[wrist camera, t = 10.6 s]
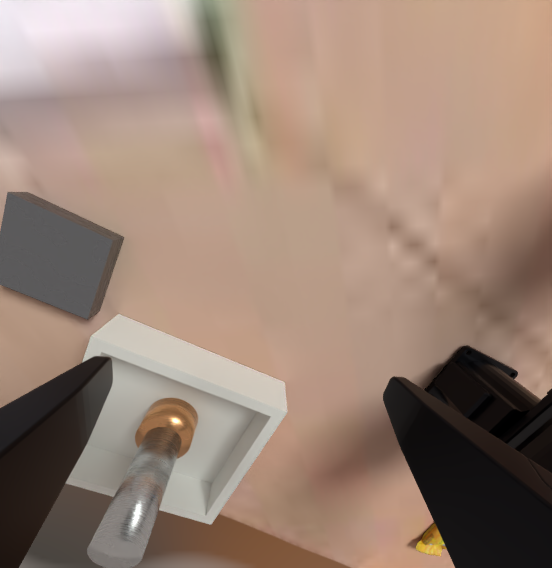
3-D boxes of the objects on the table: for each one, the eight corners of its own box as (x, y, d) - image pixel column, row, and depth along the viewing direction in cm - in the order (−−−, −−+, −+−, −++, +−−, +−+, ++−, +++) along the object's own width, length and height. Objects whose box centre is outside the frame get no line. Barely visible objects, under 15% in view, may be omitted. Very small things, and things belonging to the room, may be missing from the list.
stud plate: (124, 237, 20) (113, 240, 18) (99, 311, 22) (87, 319, 20) (27, 192, 18) (7, 192, 17) (10, 275, 20) (-9, 281, 19)
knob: (199, 400, 24) (156, 531, 15) (196, 438, 26) (155, 578, 16) (147, 395, 24) (69, 526, 14) (147, 433, 25) (76, 574, 16)
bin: (284, 382, 25) (287, 412, 21) (217, 486, 29) (211, 524, 26) (118, 313, 22) (91, 335, 18) (72, 440, 26) (43, 477, 23)
